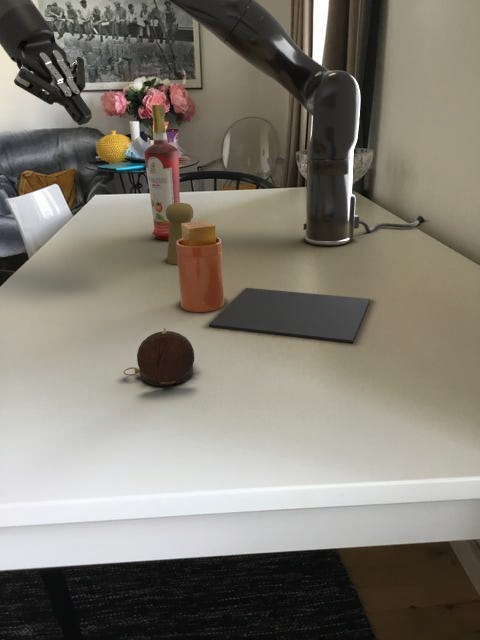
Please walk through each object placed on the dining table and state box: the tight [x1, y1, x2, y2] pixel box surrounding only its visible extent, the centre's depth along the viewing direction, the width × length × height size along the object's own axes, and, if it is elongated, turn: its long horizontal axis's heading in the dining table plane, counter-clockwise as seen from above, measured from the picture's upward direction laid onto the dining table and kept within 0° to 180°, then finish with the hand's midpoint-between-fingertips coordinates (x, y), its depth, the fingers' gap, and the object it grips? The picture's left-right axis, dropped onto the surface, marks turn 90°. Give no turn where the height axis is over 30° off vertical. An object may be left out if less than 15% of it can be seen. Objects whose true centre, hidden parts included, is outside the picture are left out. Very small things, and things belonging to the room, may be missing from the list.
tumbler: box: [176, 236, 225, 313], centre depth 85 cm, size 7×7×10 cm
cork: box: [166, 202, 194, 266], centre depth 108 cm, size 6×6×11 cm
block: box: [181, 220, 217, 247], centre depth 83 cm, size 4×4×4 cm
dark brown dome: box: [122, 327, 195, 386], centre depth 64 cm, size 8×8×7 cm
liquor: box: [143, 104, 181, 241], centre depth 122 cm, size 7×7×28 cm
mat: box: [208, 287, 371, 344], centre depth 83 cm, size 20×16×1 cm
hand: (86, 121), depth 86 cm, fingers closed
